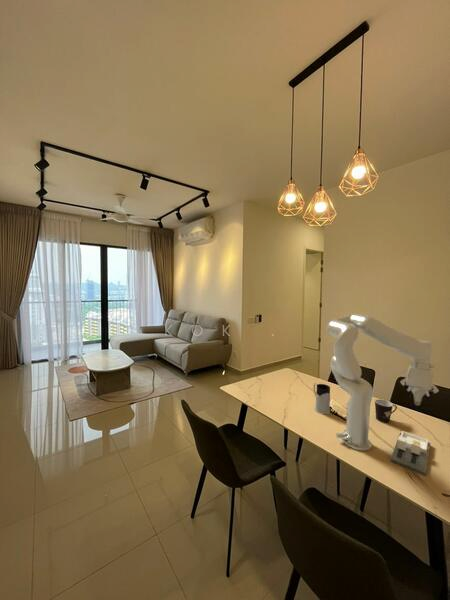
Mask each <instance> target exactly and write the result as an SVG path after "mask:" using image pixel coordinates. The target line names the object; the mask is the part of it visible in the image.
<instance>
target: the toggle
mask: <svg viewBox="0 0 450 600" xmlns="http://www.w3.org/2000/svg"><path fill="white" fill-rule="evenodd" d="M398 437H399V438H397V440H398V444H397V448H399V449H402V450H404V451H405V450H406V446H407V438H404V437H402V436H399V435H398Z"/></svg>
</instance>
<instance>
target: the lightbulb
mask: <svg viewBox="0 0 450 600" xmlns="http://www.w3.org/2000/svg"><path fill="white" fill-rule="evenodd" d="M411 391H412V392H411V394H412V396H413V402H414V405H415V406H417V407H418V406H421V404H422V400H423V397H425V394H426V392H425V390H424V389H422V388H420V387H412V388H411Z"/></svg>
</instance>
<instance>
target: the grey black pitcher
mask: <svg viewBox="0 0 450 600" xmlns="http://www.w3.org/2000/svg"><path fill="white" fill-rule="evenodd" d="M313 393H314V397H315V407H314V411H315V412H316V413H318V414H321V415H329V414H331V410H330V409H331V407H330V406H331V386H329V385H327V384H324V383H317V382H315V383H313Z"/></svg>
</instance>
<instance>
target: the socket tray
mask: <svg viewBox="0 0 450 600" xmlns="http://www.w3.org/2000/svg"><path fill="white" fill-rule="evenodd" d="M400 433H401V436H402V437H404V438H407V446H408V447H411V444H412V440H416V441H419V442H421V447H420V451H422V452H424V453H426V451H427V445H428V442H429V439H427V438H424V437H421V436H419V435H417V434H416V435H415V434H413V433H409V432H407V431H404V430H402V431H401V432H400Z"/></svg>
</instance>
